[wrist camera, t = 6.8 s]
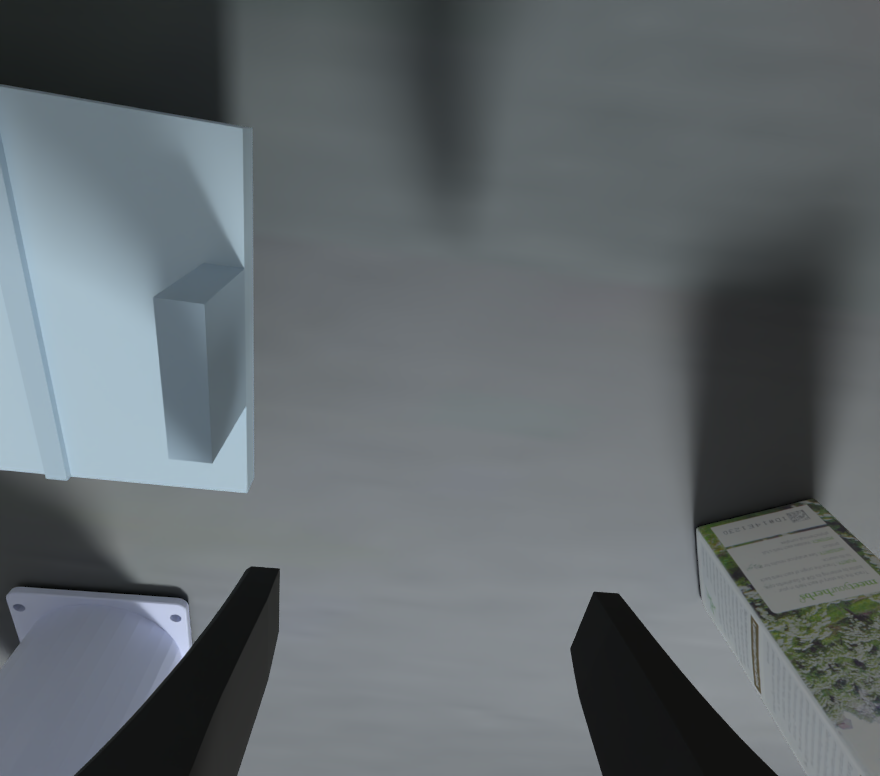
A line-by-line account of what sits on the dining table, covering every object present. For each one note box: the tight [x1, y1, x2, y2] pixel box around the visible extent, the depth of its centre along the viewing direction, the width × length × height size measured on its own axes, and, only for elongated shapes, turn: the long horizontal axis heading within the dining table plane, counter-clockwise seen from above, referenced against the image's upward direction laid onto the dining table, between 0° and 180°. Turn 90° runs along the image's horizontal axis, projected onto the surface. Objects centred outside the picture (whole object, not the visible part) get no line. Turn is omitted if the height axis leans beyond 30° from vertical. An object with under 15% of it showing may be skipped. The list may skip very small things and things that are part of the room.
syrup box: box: [696, 499, 880, 776], centre depth 19 cm, size 6×6×14 cm
